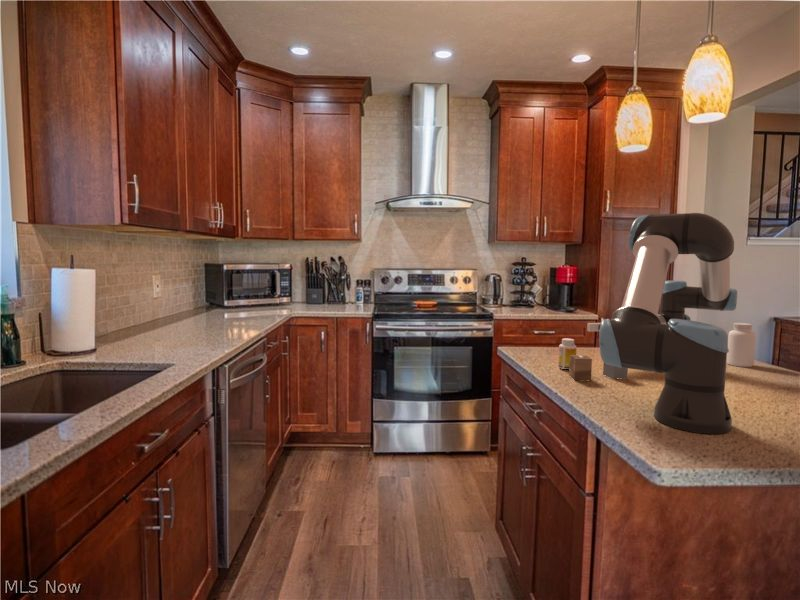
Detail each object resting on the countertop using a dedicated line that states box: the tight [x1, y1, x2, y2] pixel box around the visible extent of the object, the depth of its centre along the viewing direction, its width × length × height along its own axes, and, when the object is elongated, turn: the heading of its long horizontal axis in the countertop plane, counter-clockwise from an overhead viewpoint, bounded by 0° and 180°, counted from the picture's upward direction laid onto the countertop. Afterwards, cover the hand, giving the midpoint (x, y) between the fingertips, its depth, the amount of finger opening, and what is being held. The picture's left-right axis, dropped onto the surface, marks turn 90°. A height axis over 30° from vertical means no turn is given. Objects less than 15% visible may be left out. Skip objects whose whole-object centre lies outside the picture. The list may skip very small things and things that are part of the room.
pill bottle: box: [726, 322, 757, 368], centre depth 165 cm, size 8×8×15 cm
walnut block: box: [568, 354, 593, 381], centre depth 143 cm, size 5×5×7 cm
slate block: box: [602, 362, 629, 380], centre depth 146 cm, size 5×5×7 cm
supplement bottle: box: [558, 337, 577, 370], centre depth 156 cm, size 6×6×10 cm
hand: (588, 327), depth 157 cm, fingers closed
